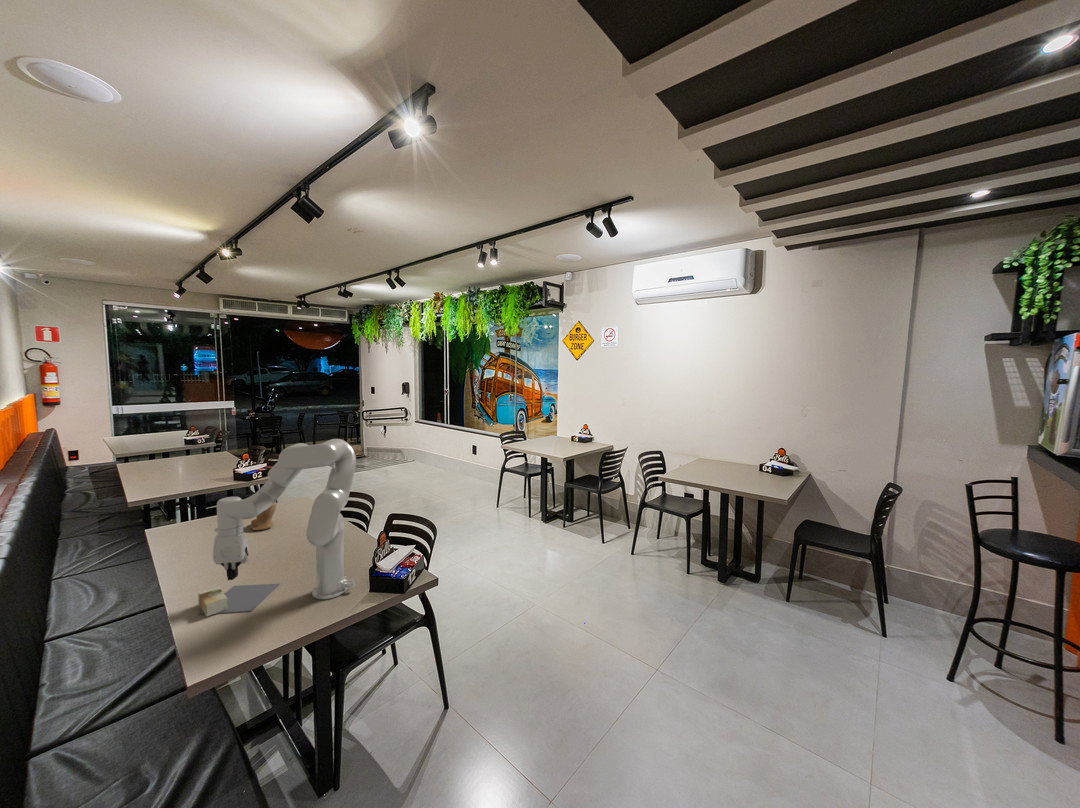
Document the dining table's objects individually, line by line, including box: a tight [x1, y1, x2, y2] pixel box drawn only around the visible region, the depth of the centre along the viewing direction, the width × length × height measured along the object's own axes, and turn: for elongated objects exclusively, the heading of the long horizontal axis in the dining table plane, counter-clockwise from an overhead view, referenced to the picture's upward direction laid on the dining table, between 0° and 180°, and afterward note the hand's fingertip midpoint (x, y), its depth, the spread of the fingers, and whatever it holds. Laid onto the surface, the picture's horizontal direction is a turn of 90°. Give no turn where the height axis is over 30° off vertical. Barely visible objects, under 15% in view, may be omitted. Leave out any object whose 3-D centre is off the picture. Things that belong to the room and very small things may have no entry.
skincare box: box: [197, 586, 228, 617], centre depth 143 cm, size 6×4×12 cm
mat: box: [198, 583, 280, 616], centre depth 149 cm, size 17×19×1 cm
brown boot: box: [250, 501, 277, 531], centre depth 221 cm, size 15×12×15 cm
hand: (232, 578), depth 149 cm, fingers closed
